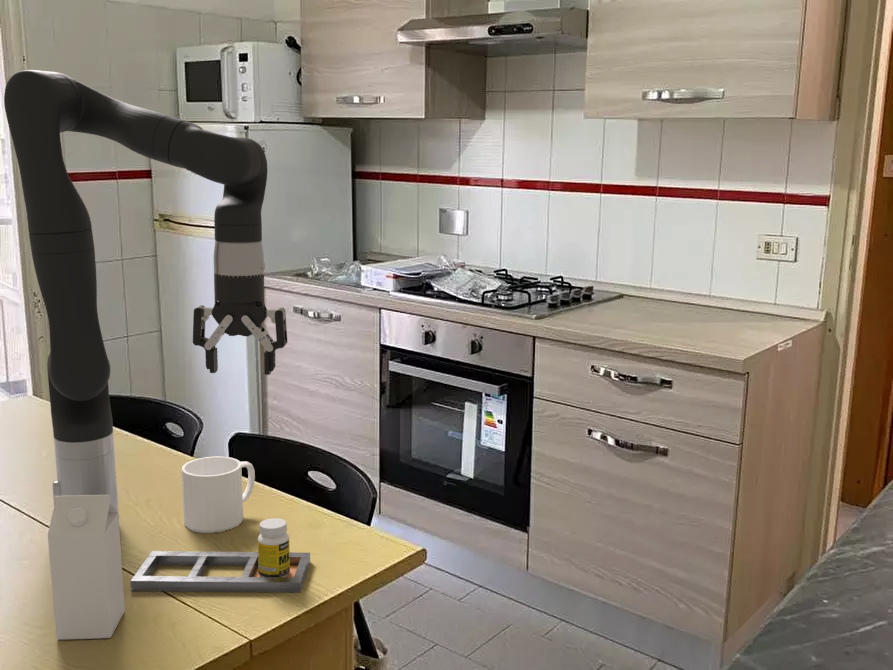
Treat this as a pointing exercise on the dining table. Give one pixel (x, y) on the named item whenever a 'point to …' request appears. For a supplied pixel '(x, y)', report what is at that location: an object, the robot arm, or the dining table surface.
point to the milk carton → (85, 567)
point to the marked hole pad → (291, 574)
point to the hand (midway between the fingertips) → (241, 372)
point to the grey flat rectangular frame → (217, 584)
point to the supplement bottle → (273, 548)
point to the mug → (214, 493)
